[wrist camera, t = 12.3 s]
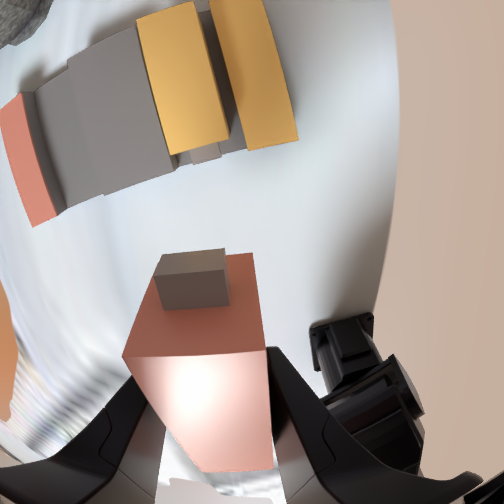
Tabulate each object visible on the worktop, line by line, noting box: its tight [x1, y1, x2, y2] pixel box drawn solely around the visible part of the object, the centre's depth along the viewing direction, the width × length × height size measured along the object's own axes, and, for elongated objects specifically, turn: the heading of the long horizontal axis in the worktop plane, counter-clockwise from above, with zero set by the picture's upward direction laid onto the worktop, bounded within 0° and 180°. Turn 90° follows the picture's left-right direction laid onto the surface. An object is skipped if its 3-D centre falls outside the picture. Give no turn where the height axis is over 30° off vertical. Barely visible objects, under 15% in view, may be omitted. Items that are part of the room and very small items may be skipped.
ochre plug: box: [136, 1, 230, 165], centre depth 13 cm, size 9×3×4 cm, turn 13°
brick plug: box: [122, 248, 274, 472], centre depth 9 cm, size 9×3×4 cm, turn 4°
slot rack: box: [0, 0, 299, 228], centre depth 15 cm, size 10×20×3 cm, turn 103°
